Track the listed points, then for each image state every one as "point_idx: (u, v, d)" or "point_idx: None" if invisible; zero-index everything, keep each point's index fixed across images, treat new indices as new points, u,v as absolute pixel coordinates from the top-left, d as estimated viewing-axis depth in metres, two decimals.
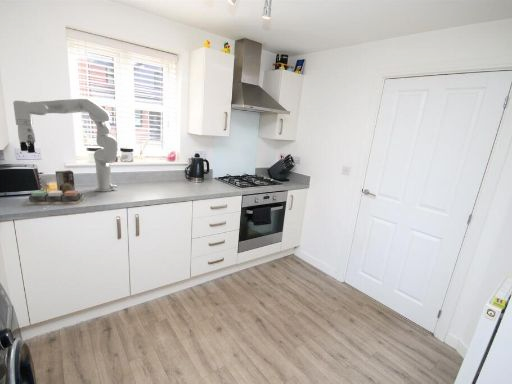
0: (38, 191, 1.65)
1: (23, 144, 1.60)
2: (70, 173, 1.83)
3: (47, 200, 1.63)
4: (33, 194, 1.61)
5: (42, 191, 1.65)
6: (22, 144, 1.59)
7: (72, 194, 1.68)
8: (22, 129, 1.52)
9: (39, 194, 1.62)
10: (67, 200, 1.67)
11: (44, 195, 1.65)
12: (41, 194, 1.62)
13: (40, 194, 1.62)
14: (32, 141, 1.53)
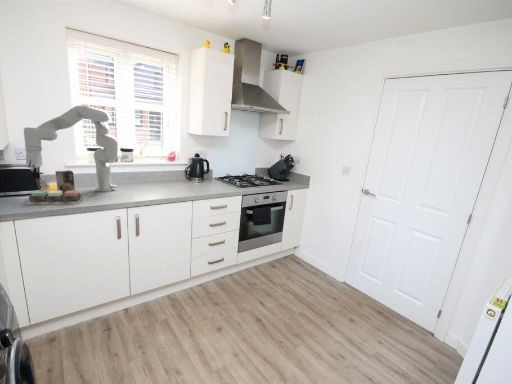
0: (38, 191, 1.65)
1: None
2: (70, 173, 1.83)
3: (47, 200, 1.63)
4: (33, 194, 1.61)
5: (42, 191, 1.65)
6: None
7: (72, 194, 1.68)
8: (40, 154, 1.62)
9: (39, 194, 1.62)
10: (67, 200, 1.67)
11: (44, 195, 1.65)
12: (41, 194, 1.62)
13: (40, 194, 1.62)
14: None
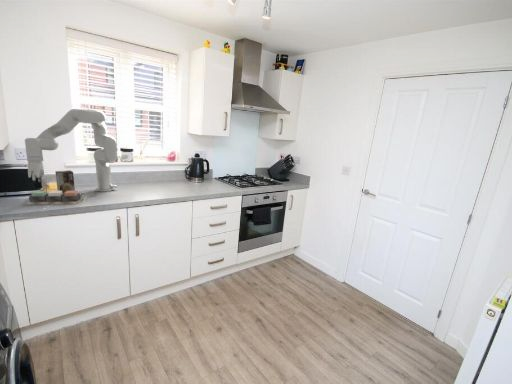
0: (38, 191, 1.65)
1: None
2: (70, 173, 1.83)
3: (47, 200, 1.63)
4: (33, 194, 1.61)
5: (42, 191, 1.65)
6: None
7: (72, 194, 1.68)
8: (42, 163, 1.63)
9: (39, 194, 1.62)
10: (67, 200, 1.67)
11: (44, 195, 1.65)
12: (41, 194, 1.62)
13: (40, 194, 1.62)
14: None
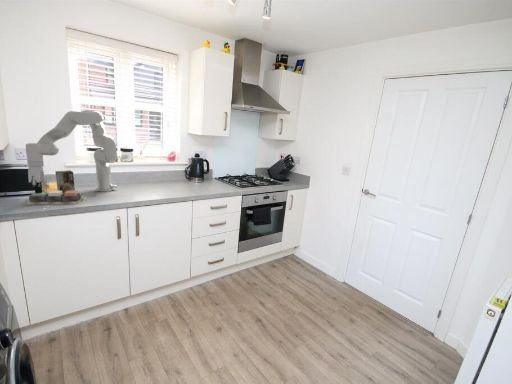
0: None
1: None
2: (70, 173, 1.83)
3: (47, 200, 1.63)
4: (33, 195, 1.61)
5: (42, 192, 1.65)
6: None
7: (72, 194, 1.68)
8: (42, 168, 1.64)
9: (39, 195, 1.62)
10: (67, 200, 1.67)
11: None
12: (41, 195, 1.62)
13: (40, 195, 1.62)
14: None
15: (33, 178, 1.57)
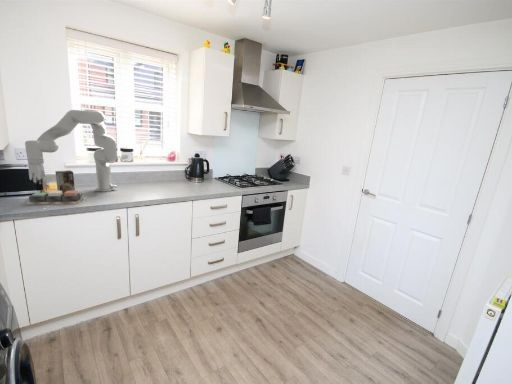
0: (38, 193, 1.65)
1: None
2: (70, 173, 1.83)
3: (47, 200, 1.63)
4: None
5: (42, 193, 1.66)
6: None
7: (72, 194, 1.68)
8: None
9: None
10: (67, 200, 1.67)
11: None
12: None
13: None
14: None
15: (34, 175, 1.58)
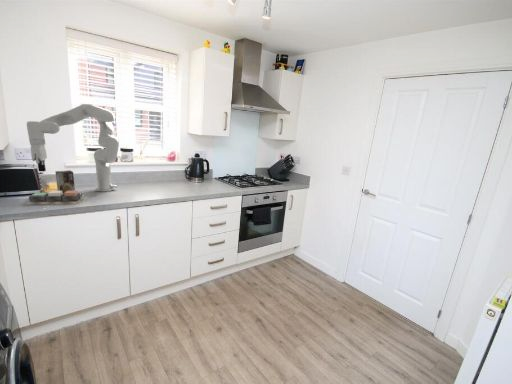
0: (38, 193, 1.65)
1: None
2: (70, 173, 1.83)
3: (47, 200, 1.63)
4: None
5: (42, 193, 1.66)
6: None
7: (72, 194, 1.68)
8: (44, 147, 1.66)
9: None
10: (67, 200, 1.67)
11: None
12: None
13: None
14: None
15: (36, 156, 1.60)
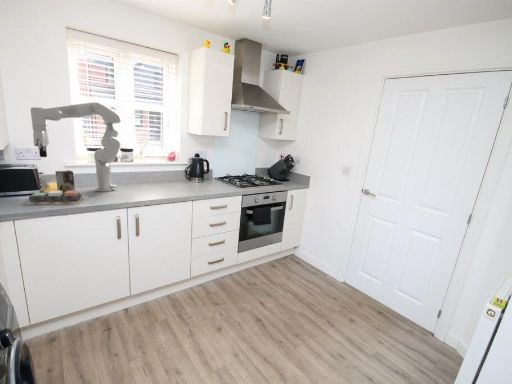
0: (38, 193, 1.65)
1: None
2: (70, 173, 1.83)
3: (47, 200, 1.63)
4: None
5: (42, 193, 1.66)
6: None
7: (72, 194, 1.68)
8: None
9: None
10: (67, 200, 1.67)
11: None
12: None
13: None
14: None
15: (38, 141, 1.63)
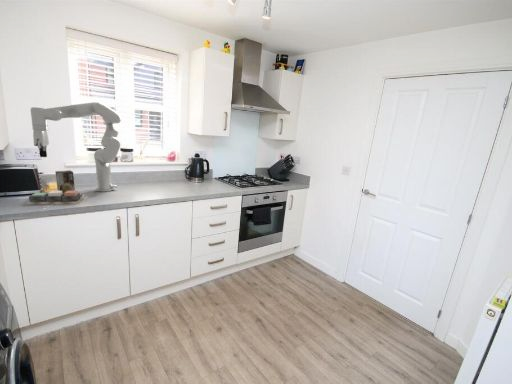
0: (38, 193, 1.65)
1: None
2: (70, 173, 1.83)
3: (47, 200, 1.63)
4: None
5: (42, 193, 1.66)
6: None
7: (72, 194, 1.68)
8: None
9: None
10: (67, 200, 1.67)
11: None
12: None
13: None
14: None
15: (38, 141, 1.63)
